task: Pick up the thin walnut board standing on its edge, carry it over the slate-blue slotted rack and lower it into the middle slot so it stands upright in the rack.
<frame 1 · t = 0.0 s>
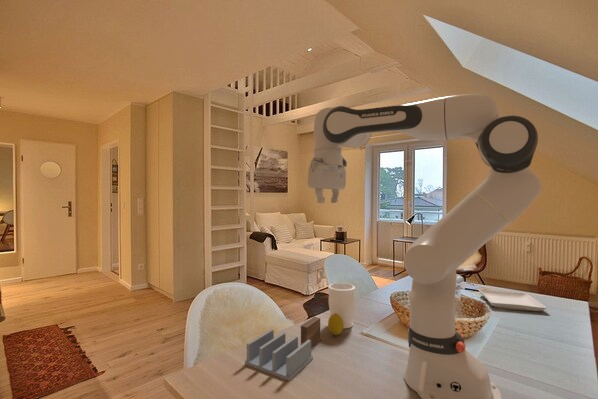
hand: (327, 203, 97), 48 cm above the table, tool pointing down, fingers open, 8 cm apart
lemon: (335, 336, 108), on the table
board: (311, 345, 101), on the table
jar: (342, 325, 118), on the table
rack: (279, 361, 91), on the table
salad plate: (509, 304, 140), on the table
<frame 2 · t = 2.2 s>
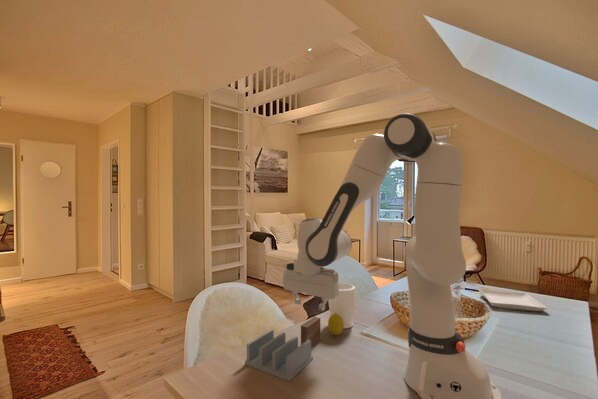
hand: (309, 306, 102), 13 cm above the table, tool pointing down, fingers open, 8 cm apart
nothing on the table moved.
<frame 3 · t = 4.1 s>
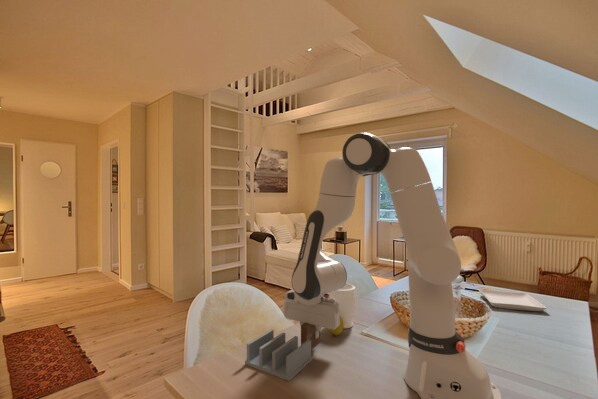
hand: (310, 336, 101), 3 cm above the table, tool pointing down, fingers closed on board, 2 cm apart
board: (311, 345, 101), on the table, touching gripper
everything else where it was.
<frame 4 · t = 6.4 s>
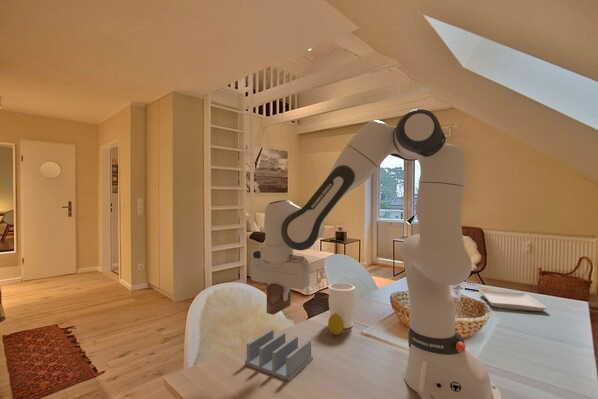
hand: (278, 299, 91), 19 cm above the table, tool pointing down, fingers closed on board, 2 cm apart
board: (278, 309, 91), point 16 cm above the table, touching gripper
everything else where it was.
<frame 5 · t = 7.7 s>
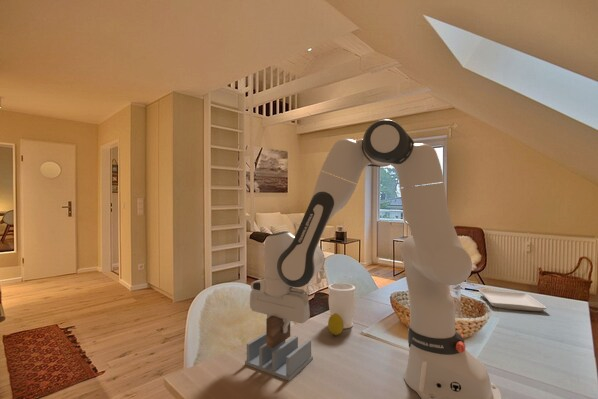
hand: (278, 330, 91), 9 cm above the table, tool pointing down, fingers closed on board, 2 cm apart
board: (278, 341, 91), point 6 cm above the table, touching gripper
everything else where it was.
when the fingers open (7 cm above the table, at t = 8.8 s): board drops 2 cm, resting on rack.
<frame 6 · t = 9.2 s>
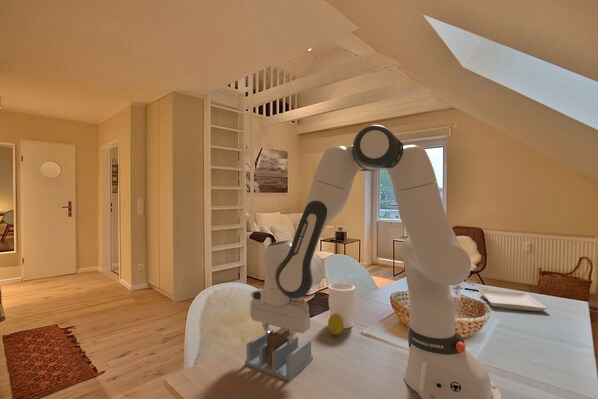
hand: (279, 340, 91), 7 cm above the table, tool pointing down, fingers open, 6 cm apart
board: (279, 358, 91), point 1 cm above the table, touching rack
everything else where it was.
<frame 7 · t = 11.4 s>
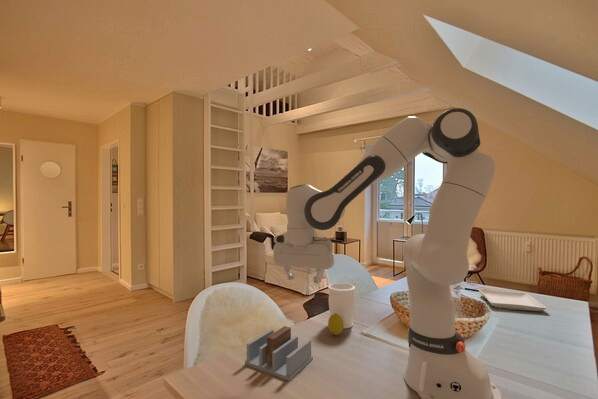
hand: (303, 281, 94), 24 cm above the table, tool pointing down, fingers open, 8 cm apart
nothing on the table moved.
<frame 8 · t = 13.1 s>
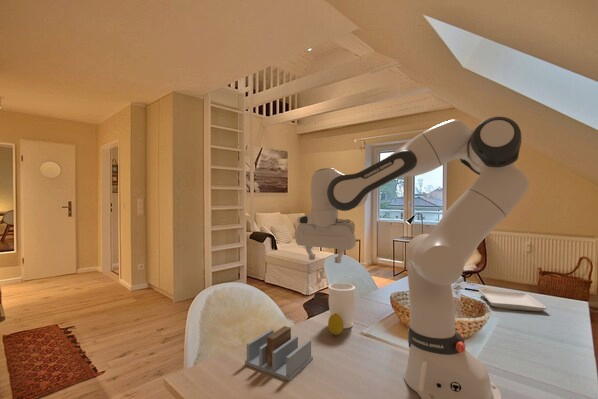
hand: (324, 261, 97), 29 cm above the table, tool pointing down, fingers open, 8 cm apart
nothing on the table moved.
at the end: board 0.0 cm off-centre on the rack, point 1.0 cm above the rack's base; board tilted 0°; the gripper is holding nothing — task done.
